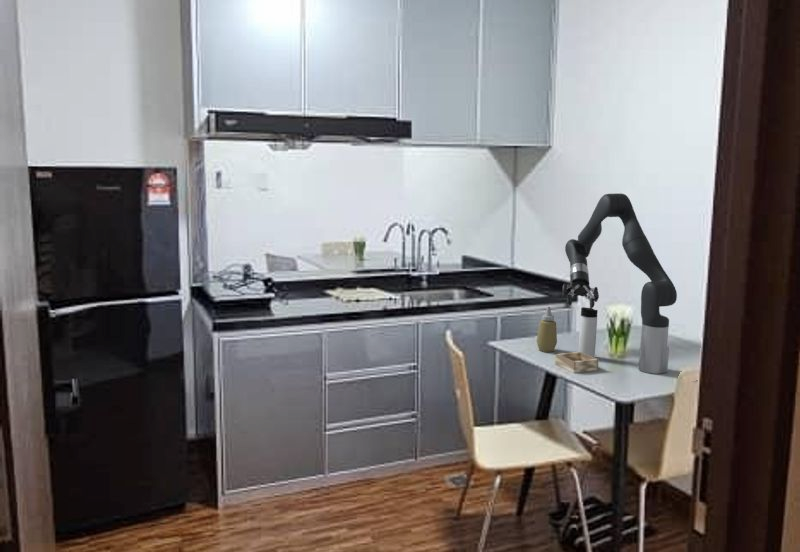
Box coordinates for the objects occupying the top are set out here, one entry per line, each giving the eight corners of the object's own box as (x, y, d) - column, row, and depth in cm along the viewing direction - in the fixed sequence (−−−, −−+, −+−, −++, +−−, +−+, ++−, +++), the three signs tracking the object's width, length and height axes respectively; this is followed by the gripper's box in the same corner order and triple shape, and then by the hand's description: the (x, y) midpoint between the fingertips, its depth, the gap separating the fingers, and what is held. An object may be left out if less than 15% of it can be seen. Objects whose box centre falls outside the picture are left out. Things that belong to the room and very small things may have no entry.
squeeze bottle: (546, 346, 285) (548, 304, 282) (560, 351, 278) (563, 307, 275) (531, 349, 280) (534, 306, 277) (546, 354, 274) (548, 309, 271)
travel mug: (574, 356, 272) (577, 306, 268) (587, 354, 274) (590, 305, 271) (584, 360, 266) (587, 309, 263) (597, 358, 269) (601, 308, 265)
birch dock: (578, 361, 264) (579, 351, 263) (597, 369, 254) (598, 359, 253) (555, 364, 259) (555, 354, 259) (573, 372, 250) (574, 362, 249)
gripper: (564, 267, 285) (565, 296, 274) (599, 272, 284) (601, 302, 273) (560, 279, 290) (560, 308, 279) (593, 285, 290) (596, 314, 279)
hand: (581, 305), depth 276 cm, fingers open, 8 cm apart
